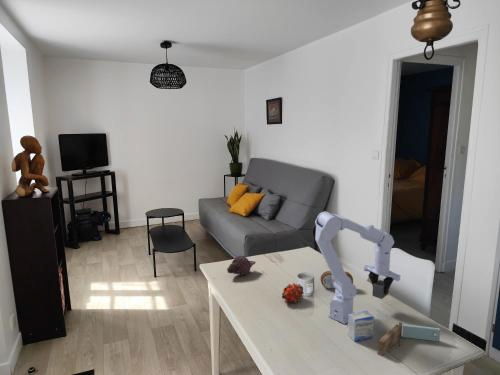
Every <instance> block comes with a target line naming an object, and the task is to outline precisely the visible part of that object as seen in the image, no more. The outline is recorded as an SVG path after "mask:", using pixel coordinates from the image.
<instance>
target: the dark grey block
mask: <svg viewBox="0 0 500 375" xmlns="http://www.w3.org/2000/svg"><path fill="white" fill-rule="evenodd" d="M389 292H390V290H389V291H388V293H387V294H386V295H385V294H384V281H383V280H381V279H378V281H377V282H376V283H374V284H373V285H372V297H375V298H377V299H380V300H382V299H384V298H385V297H387V296H388V295H389Z"/></svg>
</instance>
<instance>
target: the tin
mask: <svg viewBox="0 0 500 375" xmlns="http://www.w3.org/2000/svg"><path fill="white" fill-rule="evenodd" d="M344 272H345V274H346V275H347V277H348V278H349V279H350V281H351V283H352V284H353V285H354V277H353V276H352V274H351V273H350V272H349V271H346V270H344ZM331 276H332V274H331V272H330V270H327V271H324V272H322V274H321V275H320V283H321V285H322V286H323V288H325V289H329V290H335V288H334V286H333V279H332V277H331Z"/></svg>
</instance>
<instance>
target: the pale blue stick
mask: <svg viewBox="0 0 500 375" xmlns="http://www.w3.org/2000/svg"><path fill="white" fill-rule="evenodd" d="M440 337H441V328H439V327H432V326H431V327H429V326H422V325H413V324H404V323H402V338H407V339H416V340H417V339H418V340H425V341H433V342H440V339H441V338H440Z"/></svg>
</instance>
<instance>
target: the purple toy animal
mask: <svg viewBox="0 0 500 375" xmlns="http://www.w3.org/2000/svg"><path fill="white" fill-rule="evenodd" d="M255 264H256V261H253V260H249V259H248V258H247V256H245V255H238V256H236V257H234V259H233V260H232V261H231V263H230V264H229V266H228V267H227V268H226V272H227V273H228V274H233V275H240V276H245V275H248V274H249V273H250V271H251V268H252V267H253V266H254V265H255Z"/></svg>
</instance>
